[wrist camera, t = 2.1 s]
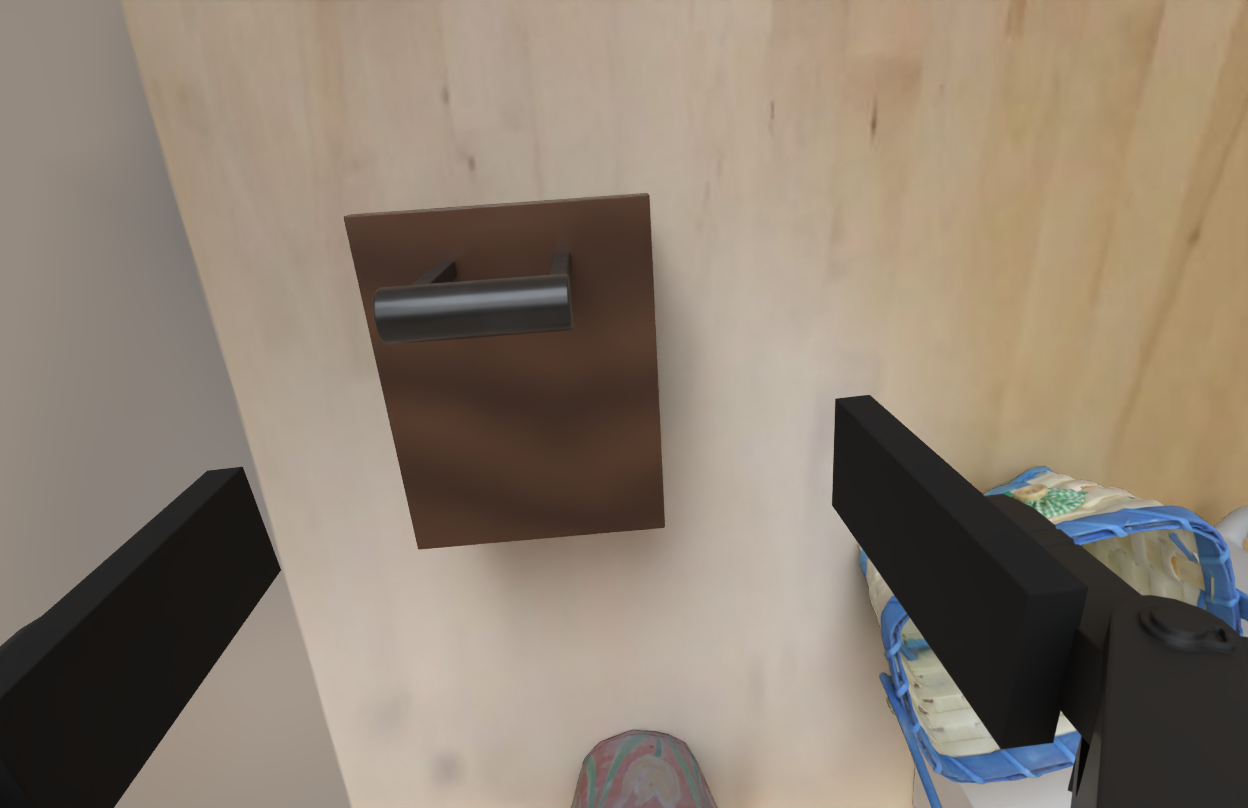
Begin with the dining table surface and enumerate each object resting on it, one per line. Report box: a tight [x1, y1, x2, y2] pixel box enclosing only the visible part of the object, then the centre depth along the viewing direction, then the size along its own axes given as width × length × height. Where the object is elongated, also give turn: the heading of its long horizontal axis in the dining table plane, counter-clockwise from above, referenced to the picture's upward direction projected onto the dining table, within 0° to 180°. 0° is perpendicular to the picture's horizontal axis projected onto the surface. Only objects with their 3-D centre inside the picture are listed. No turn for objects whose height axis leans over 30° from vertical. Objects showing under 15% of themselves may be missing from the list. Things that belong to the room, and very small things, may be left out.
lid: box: [344, 193, 665, 549], centre depth 26 cm, size 17×13×10 cm
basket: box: [859, 466, 1248, 808], centre depth 36 cm, size 21×16×24 cm
